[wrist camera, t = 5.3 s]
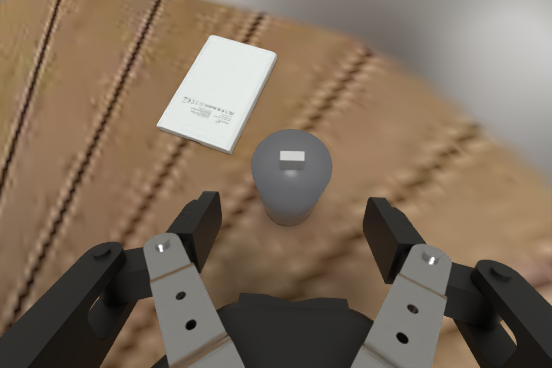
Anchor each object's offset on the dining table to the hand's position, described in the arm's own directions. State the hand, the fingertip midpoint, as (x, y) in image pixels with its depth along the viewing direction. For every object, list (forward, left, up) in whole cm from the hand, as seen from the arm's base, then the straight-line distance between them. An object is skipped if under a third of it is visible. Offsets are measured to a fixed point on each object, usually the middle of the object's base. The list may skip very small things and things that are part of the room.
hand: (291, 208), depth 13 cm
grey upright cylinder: (0, +2, -8) cm, 9 cm away
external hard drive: (-8, +14, -9) cm, 18 cm away
